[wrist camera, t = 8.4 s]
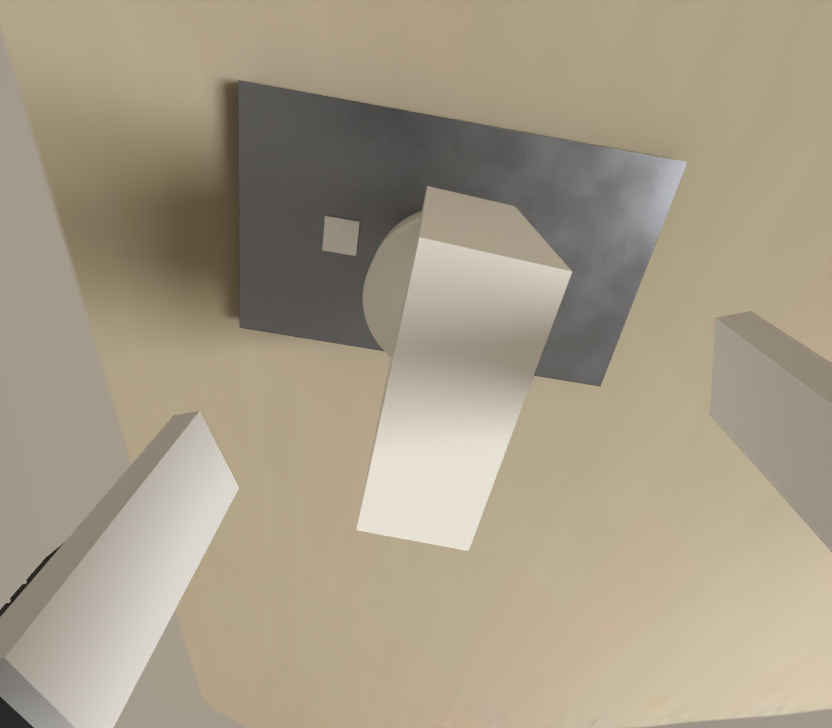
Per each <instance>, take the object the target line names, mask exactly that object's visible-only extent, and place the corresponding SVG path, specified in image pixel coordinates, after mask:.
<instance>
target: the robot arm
mask: <svg viewBox="0 0 832 728" xmlns="http://www.w3.org/2000/svg"><path fill="white" fill-rule="evenodd" d="M710 416H711V417H712V418H713V419H714V420H715V421H716V422H717V423H718V425H719V426H720V427H721V428H722V429H723V430H724V431H725V432H726V434H727V435H728V436H729V437H730V438H731V439H732V440H733V441H734V443H735V444H736V445H737V446H738V447H739V448H740V449H741V450H742V452H743V453H744V454H745V455H746V456H747V457H748V458H749V459H750V461H751V462H752V463H753V464H754V465H755V466H756V467H757V468H758V470H759V471H760V472H761V473H762V474H763V475H764V476H765V477H766V479H767V480H768V481H769V482H770V483H771V484H772V485H773V486H774V488H775V489H776V490H777V491H778V492H779V493H780V494H781V495H782V497H783V498H784V499H785V500H786V501H787V502H788V503H789V504H790V506H791V507H792V508H793V509H794V510H795V511H796V512H797V513H798V515H799V516H800V517H801V518H802V519H803V520H804V521H805V522H806V524H807V525H808V526H809V527H810V528H811V529H812V530H813V531H814V533H815V534H816V535H817V536H818V537H819V538H820V539H821V540H822V542H823V543H824V544H825V545H826V546H827V547H828V548H829V549H830V551H831V552H832V363H831V362H829V361H827V360H826V359H824V358H823V357H821V356H820V355H818V354H817V353H815V352H814V351H812V350H810V349H809V348H807V347H806V346H804V345H803V344H801V343H800V342H798V341H797V340H795V339H793V338H792V337H790V336H789V335H787V334H786V333H784V332H783V331H781V330H779V329H778V328H776V327H775V326H773V325H772V324H770V323H769V322H767V321H766V320H764V319H762V318H761V317H759V316H758V315H756V314H755V313H753V312H752V311H750V312H744V313H739V314H733V315H728V316H722V317H716V324H715V340H714V357H713V373H712V390H711V407H710ZM238 489H239V487H238V485H237V483H236V481H235V479H234V477H233V475H232V473H231V471H230V469H229V467H228V466H227V464H226V462H225V460H224V458H223V456H222V454H221V452H220V450H219V448H218V446H217V444H216V442H215V440H214V438H213V436H212V434H211V432H210V430H209V428H208V426H207V424H206V423H205V421H204V419H203V417H202V415H201V413H200V411H196V412H191V413H185V414H180V415H174V416H173V417H172V418H171V419H170V421H169V422H168V423H167V424H166V425H165V426H164V428H163V429H162V430H161V431H160V432H159V433H158V435H157V436H156V437H155V438H154V439H153V440H152V442H151V443H150V444H149V445H148V446H147V447H146V448H145V450H144V451H143V452H142V453H141V454H140V455H139V457H138V458H137V459H136V460H135V461H134V462H133V464H132V465H131V466H130V467H129V468H128V469H127V471H126V472H125V473H124V474H123V475H122V476H121V478H120V479H119V480H118V481H117V482H116V483H115V484H114V486H113V487H112V488H111V489H110V490H109V491H108V493H107V494H106V495H105V496H104V497H103V498H102V500H101V501H100V502H99V503H98V504H97V505H96V507H95V508H94V509H93V510H92V511H91V512H90V514H89V515H88V516H87V517H86V518H85V519H84V521H83V522H82V523H81V524H80V525H79V526H78V527H77V529H76V530H75V531H74V532H73V533H72V535H71V536H70V537H69V538H68V539H67V540H66V541H65V542H64V543H63V544H62V545H61V546H60V547H58V548H57V549H56V550H55V551H54V552H52V553H51V554H50V555H49V556H47V557H46V558H45V559H44V560H43V562H42V563H41V564H40V565H39V566H38V567H37V568H36V570H35V571H34V572H33V573H32V574H31V575H30V577H29V578H28V579H27V583H26V584H23V585H22V586H21V587H20V588H19V589H18V590H17V591H16V592H15V594H14V595H13V596H12V597H11V598H10V599H11V601H10V603H6V604H5V605H4V606H3V608H2V609H1V610H0V728H113V727H114V725H115V723H116V721H117V719H118V717H119V715H120V714H121V712H122V710H123V708H124V706H125V704H126V702H127V700H128V698H129V697H130V695H131V693H132V691H133V689H134V687H135V685H136V683H137V681H138V679H139V677H140V676H141V674H142V672H143V670H144V668H145V666H146V664H147V662H148V660H149V658H150V656H151V654H152V653H153V651H154V649H155V647H156V645H157V643H158V641H159V639H160V637H161V636H162V634H163V632H164V630H165V628H166V626H167V624H168V622H169V620H170V618H171V616H172V614H173V613H174V611H175V609H176V607H177V605H178V603H179V601H180V599H181V597H182V596H183V594H184V592H185V590H186V588H187V586H188V584H189V582H190V580H191V578H192V576H193V575H194V573H195V571H196V569H197V567H198V565H199V563H200V561H201V559H202V557H203V556H204V554H205V552H206V550H207V548H208V546H209V544H210V542H211V540H212V538H213V536H214V535H215V533H216V531H217V529H218V527H219V525H220V523H221V521H222V519H223V517H224V516H225V514H226V512H227V510H228V508H229V506H230V504H231V502H232V500H233V498H234V496H235V495H236V493H237V491H238Z"/></svg>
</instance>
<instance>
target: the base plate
mask: <svg viewBox="0 0 832 728" xmlns="http://www.w3.org/2000/svg"><path fill="white" fill-rule="evenodd" d="M238 113H239V291H240V328H246V329H252V330H258V331H264V332H270V333H276V334H282V335H288V336H295V337H301V338H307V339H313V340H319V341H325V342H331V343H338V344H344V345H350V346H356V347H362V348H368V349H374V350H380V351H384V350H383V349H382V348H381V347H380V345H379V344H378V343H377V342H376V340H375V338H374V337H373V335H372V333H371V331H370V329H369V327H368V325H367V321H366V318H365V314H364V309H363V289H364V283H365V279H366V275H367V273H368V270H369V268H370V265H371V263H372V261H373V259H374V257H375V254H376V252H377V250H378V248H379V246H380V244H381V243H382V241H383V239H384V238H385V237H386V235H387V234H388V233H389V232H390V231H391V230H392V229H393V228H394V227H395V226H396V225H397V224H399V223H400V222H401V221H402V220H404V219H406V218H407V217H409V216H411V215H413V214H415V213H418V212H420V211H422V208H423V203H424V199H425V194H426V189H427V186H430V187H434V188H438V189H443V190H447V191H451V192H456V193H460V194H464V195H469V196H473V197H477V198H482V199H486V200H490V201H495V202H499V203H503V204H508V205H512V206H515V207H516V208H517V209H518V210H519V211H520V213H521V214H522V215H523V216H524V217H525V218H526V219H527V221H528V222H529V223H530V224H531V225H532V226H533V227H534V228H535V230H536V231H537V232H538V233H539V234H540V235H541V236H542V238H543V239H544V240H545V241H546V242H547V243H548V244H549V246H550V247H551V248H552V249H553V250H554V251H555V252H556V254H557V255H558V256H559V257H560V258H561V259H562V260H563V262H564V263H565V264H566V265H567V266H568V267H569V268H570V270H571V271H572V274H571V277H570V279H569V282H568V285H567V287H566V290H565V293H564V295H563V298H562V301H561V303H560V306H559V309H558V312H557V314H556V317H555V320H554V322H553V325H552V328H551V330H550V333H549V336H548V338H547V341H546V344H545V347H544V349H543V352H542V355H541V357H540V360H539V363H538V365H537V368H536V371H535V373H534V376H540V377H546V378H552V379H558V380H564V381H571V382H577V383H583V384H589V385H595V386H601V383H602V381H603V378H604V375H605V373H606V370H607V368H608V365H609V363H610V360H611V357H612V355H613V352H614V350H615V347H616V345H617V342H618V339H619V337H620V334H621V332H622V329H623V327H624V324H625V321H626V319H627V316H628V314H629V311H630V308H631V306H632V303H633V301H634V298H635V296H636V293H637V290H638V288H639V285H640V283H641V280H642V278H643V275H644V272H645V270H646V267H647V265H648V262H649V259H650V257H651V254H652V252H653V249H654V247H655V244H656V241H657V239H658V236H659V234H660V231H661V229H662V226H663V223H664V221H665V218H666V216H667V213H668V211H669V208H670V205H671V203H672V200H673V198H674V195H675V192H676V190H677V187H678V185H679V182H680V180H681V177H682V174H683V172H684V169H685V167H686V164H687V162H684V161H678V160H673V159H667V158H662V157H656V156H651V155H645V154H640V153H634V152H629V151H623V150H618V149H612V148H607V147H601V146H596V145H590V144H585V143H580V142H574V141H569V140H563V139H558V138H552V137H547V136H541V135H536V134H530V133H525V132H519V131H514V130H508V129H503V128H497V127H492V126H486V125H481V124H475V123H470V122H464V121H459V120H453V119H448V118H442V117H437V116H431V115H426V114H420V113H415V112H409V111H404V110H398V109H393V108H387V107H382V106H377V105H371V104H366V103H360V102H355V101H349V100H344V99H338V98H333V97H327V96H322V95H316V94H311V93H305V92H300V91H294V90H289V89H283V88H278V87H272V86H267V85H261V84H256V83H250V82H245V81H239V80H238Z"/></svg>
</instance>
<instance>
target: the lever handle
mask: <svg viewBox="0 0 832 728" xmlns="http://www.w3.org/2000/svg"><path fill="white" fill-rule="evenodd" d="M571 274H572V271H571V270H570V268H569V267H568V266H567V265H566V264H565V263H564V262H563V260H562V259H561V258H560V257H559V256H558V255H557V254H556V252H555V251H554V250H553V249H552V248H551V247H550V246H549V244H548V243H547V242H546V241H545V240H544V239H543V238H542V236H541V235H540V234H539V233H538V232H537V231H536V230H535V228H534V227H533V226H532V225H531V224H530V223H529V222H528V221H527V219H526V218H525V217H524V216H523V215H522V214H521V213H520V211H519V210H518V209H517V208H516V207H515V206H512V205H508V204H503V203H499V202H495V201H490V200H486V199H482V198H477V197H473V196H469V195H464V194H460V193H456V192H451V191H447V190H443V189H438V188H434V187H430V186H427V189H426V194H425V199H424V203H423V208H422V211H420V212H418V213H415V214H413V215H411V216H409V217H407V218H406V219H404V220H402V221H401V222H400V223H399V224H397V225H396V226H395V227H394V228H393V229H392V230H391V231H390V232H389V233H388V234H387V235H386V237H385V238H384V239H383V241H382V243H381V244H380V246H379V248H378V250H377V252H376V254H375V257H374V259H373V261H372V263H371V265H370V268H369V270H368V273H367V275H366V279H365V283H364V289H363V309H364V314H365V318H366V321H367V325H368V327H369V329H370V331H371V333H372V335H373V337H374V338H375V340H376V342H377V343H378V344H379V345H380V347H381V348H382V349H383V350H384V351H385V352H386V353H387V354H388V355H389V356H390V357H391V359H390V364H389V368H388V373H387V378H386V382H385V387H384V392H383V398H382V403H381V408H380V413H379V418H378V423H377V428H376V433H375V438H374V443H373V448H372V453H371V459H370V464H369V469H368V474H367V479H366V484H365V489H364V494H363V499H362V504H361V509H360V515H359V520H358V525H357V530H359V531H364V532H370V533H375V534H380V535H386V536H391V537H396V538H402V539H407V540H413V541H418V542H423V543H429V544H434V545H439V546H445V547H450V548H456V549H461V550H466V551H469V548H470V546H471V543H472V540H473V538H474V535H475V532H476V530H477V527H478V524H479V521H480V519H481V516H482V513H483V511H484V508H485V505H486V503H487V500H488V497H489V495H490V492H491V489H492V486H493V484H494V481H495V478H496V476H497V473H498V470H499V468H500V465H501V462H502V460H503V457H504V454H505V451H506V449H507V446H508V443H509V441H510V438H511V435H512V433H513V430H514V427H515V425H516V422H517V419H518V416H519V414H520V411H521V408H522V406H523V403H524V400H525V398H526V395H527V392H528V390H529V387H530V384H531V382H532V379H533V376H534V373H535V371H536V368H537V365H538V363H539V360H540V357H541V355H542V352H543V349H544V347H545V344H546V341H547V338H548V336H549V333H550V330H551V328H552V325H553V322H554V320H555V317H556V314H557V312H558V309H559V306H560V303H561V301H562V298H563V295H564V293H565V290H566V287H567V285H568V282H569V279H570V277H571Z"/></svg>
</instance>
